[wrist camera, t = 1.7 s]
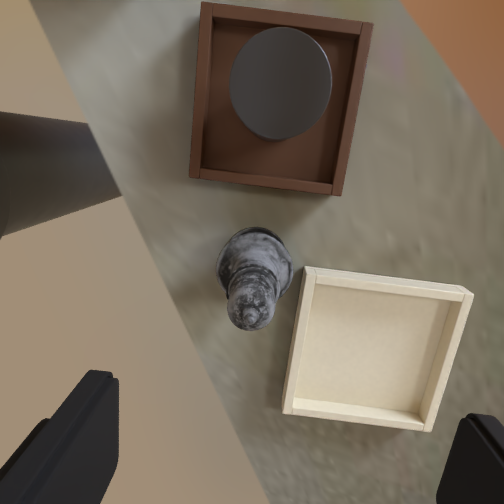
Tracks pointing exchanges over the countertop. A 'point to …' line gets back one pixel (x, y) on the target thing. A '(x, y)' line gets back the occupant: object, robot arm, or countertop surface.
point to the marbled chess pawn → (253, 276)
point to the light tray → (372, 348)
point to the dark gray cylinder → (280, 83)
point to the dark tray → (234, 130)
